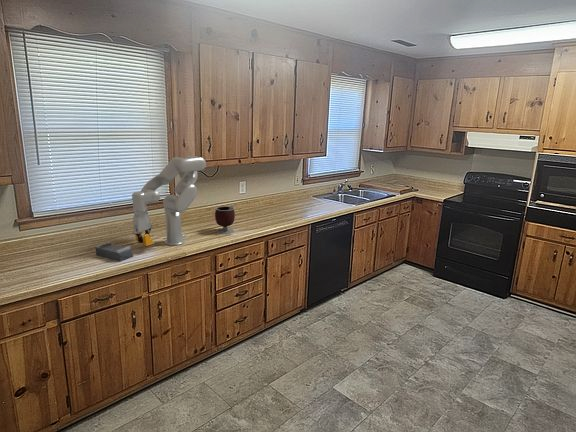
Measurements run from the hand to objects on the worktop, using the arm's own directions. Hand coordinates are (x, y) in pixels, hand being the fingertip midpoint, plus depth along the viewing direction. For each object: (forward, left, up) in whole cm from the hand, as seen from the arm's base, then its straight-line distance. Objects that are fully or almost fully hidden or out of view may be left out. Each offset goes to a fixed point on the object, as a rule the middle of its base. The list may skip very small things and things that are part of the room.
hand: (144, 240), depth 238 cm
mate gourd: (-58, +20, -6) cm, 61 cm away
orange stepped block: (0, 0, -2) cm, 2 cm away
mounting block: (+16, -7, -6) cm, 19 cm away
